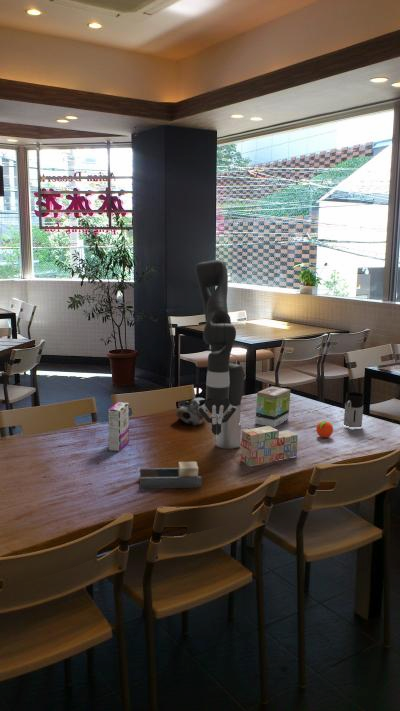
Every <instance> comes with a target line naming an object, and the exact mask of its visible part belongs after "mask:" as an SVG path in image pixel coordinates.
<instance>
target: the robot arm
mask: <svg viewBox="0 0 400 711" xmlns="http://www.w3.org/2000/svg"><path fill="white" fill-rule="evenodd" d="M195 275H196V281H197V284H198V288H199V289H198V290H199V293H200V296H201V301H202V305H203V311H204V318H205V326H204V329H203V332H202V338H203V341H204V342H205V344H207V345H210V351H211V352H210V353H208V357H207V372H206V384H205V388H206V389H205V402H204V404H203V405H202V406H199V407H198V410H199V411H200V413H201V414H202V415H203V419H204V420H205V421H206V422H207V423H209V424H211V432H212V434H213V436H215V445H216V447H218V448H221V449H226V450H227V449H229V450H232V449H236V448H241V438H242V424H241V409H242V408H241V406H242V399H243V392H244V383H245V370H244V367H243V366H242V365H240V364H237V363H230V358H231V353H232V349H233V346H234V343H235V341H236V337H237V330H236V327H235V326H234V325H233V323H232V321H231V316H230V314H229V311H228V301H227V300H228V287H229V286H228V285H229V284H228V283H229V275H228V268H227V265H226V262H225V261H224V260H223V259H213V260H207V261H203V262H198V263H197V264H196V265H195ZM213 287H216V288H215V289H214V290H213V292H212V293H211V292H210V288H213ZM205 407H206V408H207V409H208V413H210V416H209V414H206V412H205V411H206V409H205Z"/></svg>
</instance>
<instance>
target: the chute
mask: <svg viewBox="0 0 400 711" xmlns="http://www.w3.org/2000/svg"><path fill="white" fill-rule="evenodd" d="M139 471H140V472H139V477H140V478H139V479H140V480H139V482H140V483H139V484H140V489H142V490H143V489H181V488H182V489H189V488H190V489H192V488H193V489H194V488H197V487H199V488H202V476H200V475H199V474H200V468H199V467H198V476H191V477H179V467H152V468H151V467H146V468H145V467H144V468H143V467H141V468H140V470H139Z"/></svg>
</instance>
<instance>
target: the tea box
mask: <svg viewBox="0 0 400 711" xmlns="http://www.w3.org/2000/svg"><path fill="white" fill-rule="evenodd" d="M256 393H257V394H256V395H257V396H256V408H255V420H254V422H255V425H256V424H257V425H261V426H264V425H265V426H270V427H272V428H276V427H277V426H279V425H281V424H282V423H285V422H287V421H288V420H289V414H290V404H291V403H290V402H291V388H290V389H289V388H283V387H279V386H278V387H277V386H269V387H266V388H264V389H262V390H260V391H257V392H256ZM287 419H288V420H287ZM286 420H287V421H286ZM284 421H285V422H284ZM265 426H264V427H265Z"/></svg>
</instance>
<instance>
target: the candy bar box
mask: <svg viewBox="0 0 400 711" xmlns="http://www.w3.org/2000/svg"><path fill="white" fill-rule="evenodd" d="M129 407H130V406H129V402H125V401H124V402H121V401H117V402H116V403H115V404H114V405H112V406H111V407H110V408H108V409H107V412H108V413H107V416H108V417H107V418H108V419H107V420H108V422H107V425H108V451H112V452H113V451H114V452H121V451H123V449H124V448H125V446H126V445H128V444H129V443H130V425H129V424H130V423H129V422H130V417H129V416H130V413H129V412H130V410H129Z"/></svg>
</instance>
